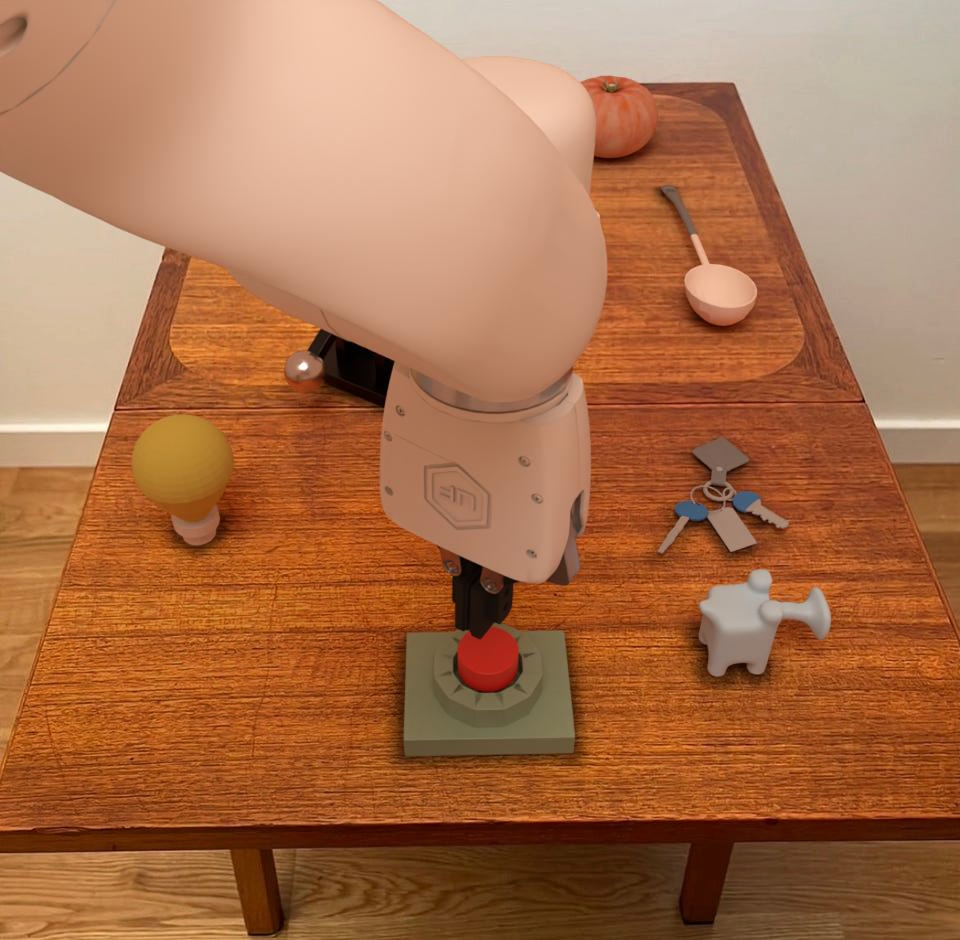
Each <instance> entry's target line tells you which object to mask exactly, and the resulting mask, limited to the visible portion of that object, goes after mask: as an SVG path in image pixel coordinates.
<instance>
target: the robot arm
mask: <svg viewBox="0 0 960 940" xmlns="http://www.w3.org/2000/svg"><path fill="white" fill-rule="evenodd" d="M581 82H582V81H580V80H578V79H577V78H575V76H573V75H572V74H571V73H569V71H566V70H564V69H562V68H560V67H558V66H555V65H553V64H551V63H546V62H544V61H540V60H535V59H530V58H525V57H517V56H505V55H504V56H503V55H488V56H487V55H486V56H475V57H468V58H463V59H461V58H460V57H459V56H458V55H456V54H455V53H454V52H452V51H450V50H449V49H448V48H447V47H445V46H443V45H442V44H441V43H439V42H438V41H437V40H435V39H434V38H433V37H431V36H429V35H428V34H427V33H425V31H422V30H421V29H420V28H418V27H416V26H415V25H414V24H412V23H410V22H409V21H408V20H406V19H405V18H403V17H402V16H401V15H399V14H398V13H397V12H395V11H394V10H392V9H391V8H389V7H388V6H387V5H385V4H384V3H382V2H381V1H379V0H0V173H2V174H4V175H5V176H8V177H10V178H11V179H14V180H15V181H18V182H20V183H21V184H22V183H23V184H25V185H26V186H29V187H30V188H33V189H35V190H37V191H40V192H41V193H44V194H47V195H49V196H51V197H53V198H55V199H57V200H58V201H60V202H62V203H64V204H66V205H68V206H70V207H72V208H73V209H76V210H78V211H81V212H82V213H84V214H86V215H89V216H91V217H93V218H95V219H98V220H100V221H102V222H104V223H106V224H108V225H110V226H113V227H114V228H117V229H119V230H121V231H123V232H126V233H128V234H131V235H134V236H135V237H137V238H140V239H142V240H146V241H148V242H151V243H153V244H156V245H159V246H162V247H163V248H167V249H170V250H172V251H175V252H178V253H181V254H184V255H186V256H189V257H192V258H195V259H197V260H200V261H202V262H206V263H209V264H211V265H215V266H217V267H220V268H223V269H225V270H226V271H227V272H228V273H229V275H230V276H231V277H232V278H233V279H234V280H235V282H237V283H238V284H239V285H240V286H241V287H242V288H243V289H244V290H245V291H247V293H250V294H251V296H254V297H255V298H256V299H258V300H260V301H262V302H263V303H265V304H267V305H269V306H271V307H273V308H274V309H276V310H278V311H281V312H282V313H285V314H287V315H288V316H292V317H294V318H296V319H298V320H300V321H302V322H305V323H307V324H309V325H312V326H314V327H316V328H318V329H323V330H325V331H327V332H329V333H332V334H334V335H336V336H338V337H340V338H343V339H345V340H347V341H352V342H354V343H356V344H358V345H360V346H363V347H365V348H367V349H369V350H372V351H374V352H376V353H378V354H380V355H383V356H385V357H387V358H389V359H392V360H394V361H395V362H394V366H393V370H392V374H391V378H390V382H389V387H388V392H387V397H386V402H385V408H384V407H383V415H382V423H381V433H380V445H379V448H380V449H379V496H380V497H379V498H380V504H381V507H382V510H383V513H384V514H385V516H386V517H387V518H388V519H389V520H390V521H391V522H393V523H394V524H395V525H396V526H398V527H400V528H401V529H403V530H405V531H407V532H408V533H411V534H412V535H414V536H417V537H419V538H421V539H423V540H425V541H427V542H429V543H432V545H433V544H434V545H436V547H437V548H438V549H439V553H440V559H441V565H442V568H443V569H444V571H445V572H446V573H447V574H449V575H450V576H451V578H452V579H451V602H452V603H453V604H454V628H455V629H456V630H458V629H459V630H461V631H463V632H464V631H465V630H467V631H468V630H469V632H471V636H473V637H475V638H477V639H479V640H480V639H482V638H483V636H484V635H485V634H486V633H487V631H488V630H489V629H490V628H491V626H492V625H493V624H494V623H497V624H501V623H504V621H505V620H506V619H507V617H508V616H509V614H510V613H511V611H512V607H513V604H514V603H513V602H514V588H515V584H517V583H519V582H522V583H526V584H543V583H549V584H554V585H557V586H558V585H559V586H561V587H567V586H569V584H570V583H571V582H572V581H573V579H574V578H575V577H576V575H577V574H578V573H579V572H580V571H581V561H580V555H579V550H578V549H579V548H578V543H577V538H580V537H582V536H583V534H584V532H585V530H586V526H587V523H588V517H589V511H590V510H589V509H590V498H591V481H592V447H591V445H592V443H591V440H592V439H591V427H590V425H591V424H590V417H589V407H588V401H587V396H586V395H587V394H586V390H585V385H584V379H583V378H582V377H581V376H580V375H578V374H577V373H575V372H574V365H576V363H577V361H578V360H579V359H580V358H581V356H582V355H583V353H584V352H585V351H586V349H587V348H588V345H589V343H590V341H591V340H592V338H593V336H594V334H595V331H596V329H597V327H598V324H599V321H600V319H601V316H602V313H603V308H604V305H605V301H606V294H607V285H608V255H607V246H606V245H607V244H606V238H605V234H604V231H603V227H602V223H601V218H600V219H599V217H598V215H597V212H598V211H597V209H596V207H595V205H594V203H593V201H592V199H591V187H592V177H593V167H594V160H595V159H594V158H595V156H594V150H595V136H596V116H595V111H594V105H593V102H592V99H591V97H590V95H589V93H588V92H587V90H586V88H585V87H584V86H583V85H582V84H581ZM596 211H597V212H596Z"/></svg>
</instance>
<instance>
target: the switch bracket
mask: <svg viewBox="0 0 960 940" xmlns="http://www.w3.org/2000/svg"><path fill="white" fill-rule="evenodd" d="M323 361H324V363H325V366H326V378H325V380H324V382H323V384H325V385H328V386H330V387H333V388H335V389H338V390H340V391H343V392H345V393H348V394H350V395H352V396H355V397H358V398H359V399H362V400H365V401H367V402H370V403H372V404H375V405H377V406H379V407H381V408H383V409H384V408H385V402H386V397H387V392H388V387H389V382H390V378H391V374H392V370H393V366H394V362H395V361H394V360H392V359H389V358H387V357H385V356H383V355H380V354H378V353H376V352H374V351H372V350H369V349H367V348H365V347H363V346H360V345H358V344H356V343H354V342H352V341H347V340H345V339H343V338H340V337H337V338H336V340H335V342H334V343H333V345H332V346H331V348H330V350H329V351H328V353H327V355H326V356H325V358H324V360H323Z"/></svg>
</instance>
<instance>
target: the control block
mask: <svg viewBox="0 0 960 940" xmlns="http://www.w3.org/2000/svg"><path fill="white" fill-rule="evenodd" d="M492 627H497V628H500V629H503V630H505V631H507V632H508V633H509V634H511V635H512V636H513V637H514V639H515V640H516V642H517V645H518V649H519V655H518V671H517V675H516V677H515V679H514V680H513V682H512V683H511V684H510V685H508V686H507V687H505V688H504V689H501V690H498V691H494V692H482V691H478V690H475V689H473V688H471V687H469V686H468V685H466V684H465V683H464V682H463V680H462V679H461V677H460V675H459V673H458V645H459V642H460V640H461V639H462V637H463V636H464V635H465V634H466V633H468V632H469V630H468V631H467V630H465V631H464V632H463V631H461V630H459V629H456V630H454V631H434V632H433V631H428V632H426V631H425V632H424V631H423V632H421V631H420V632H406V643H405V645H406V646H405V647H406V648H405V676H404V677H405V678H404V679H405V680H404V711H403V713H404V714H403V737H402V738H403V740H402V741H403V753H404V757H441V756H442V757H444V756H448V757H449V756H497V755H499V756H500V755H501V756H503V755H554V754H555V755H557V754H558V755H559V754H574V752H575V742H576V731H575V729H576V728H575V722H574V721H575V719H574V710H573V702H572V701H573V700H572V693H571V682H570V674H569V664H568V663H569V662H568V654H567V645H566V636H565V634H566V633H565V630H562V629H559V630H554V629H553V630H519V629H517V628H515V627H512V626H510V625H507V624H505V623H504V622H502V623H501V624H497V623H494V624H493V625H492Z"/></svg>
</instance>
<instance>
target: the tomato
mask: <svg viewBox="0 0 960 940" xmlns="http://www.w3.org/2000/svg"><path fill="white" fill-rule="evenodd" d="M580 82H581V84H582V85H583V86H584V87H585V88H586V90H587V92H588V93H589V95H590V97H591V99H592V102H593V105H594V111H595V116H596V136H595V150H594V157H596V158H602V159H603V158H604V159H616V158H622V157H626V156H629V155H631V154H634V153H636V152H638V151H639V150H640V149H642V148H643V147H645V146H646V145H647V144H648V143H649V142H650V141H651V139H652V137H653V136H654V134H655V132H656V130H657V127H658V122H659V110H658V105H657V102H656V100H655V97H654V96H653V94H652V93H651V91H650V90H649V89H648V88H647V87H646V86H644V85H643V84H640V82H638V81H636V80H634V79H631V78H628V77H625V76H623V77H622V76H615V75H599V76H596V77H590V78H586V79H584V80H582V81H580Z"/></svg>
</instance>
